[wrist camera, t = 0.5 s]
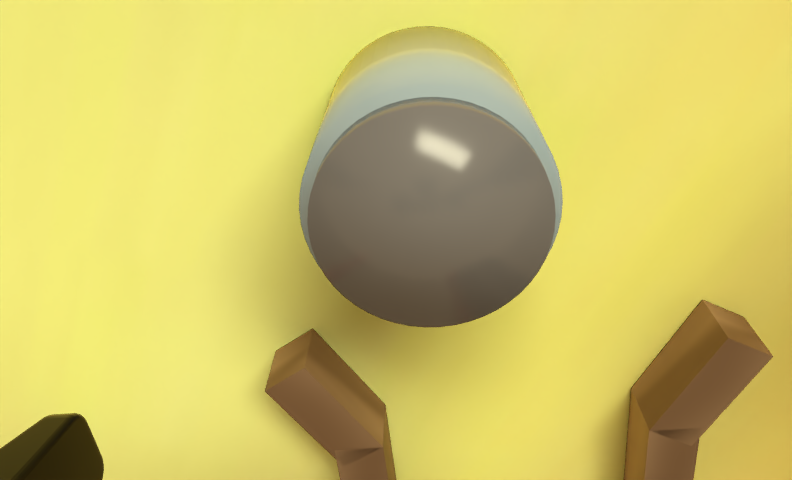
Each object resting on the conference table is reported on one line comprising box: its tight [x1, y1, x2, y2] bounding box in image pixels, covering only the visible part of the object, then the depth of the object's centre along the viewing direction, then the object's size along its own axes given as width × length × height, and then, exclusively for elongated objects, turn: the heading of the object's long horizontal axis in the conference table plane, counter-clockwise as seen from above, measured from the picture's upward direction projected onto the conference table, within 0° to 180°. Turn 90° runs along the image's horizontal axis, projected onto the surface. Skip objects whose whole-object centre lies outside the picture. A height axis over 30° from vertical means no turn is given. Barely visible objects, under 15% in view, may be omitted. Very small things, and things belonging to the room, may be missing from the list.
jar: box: [299, 26, 562, 327], centre depth 16 cm, size 6×6×6 cm
